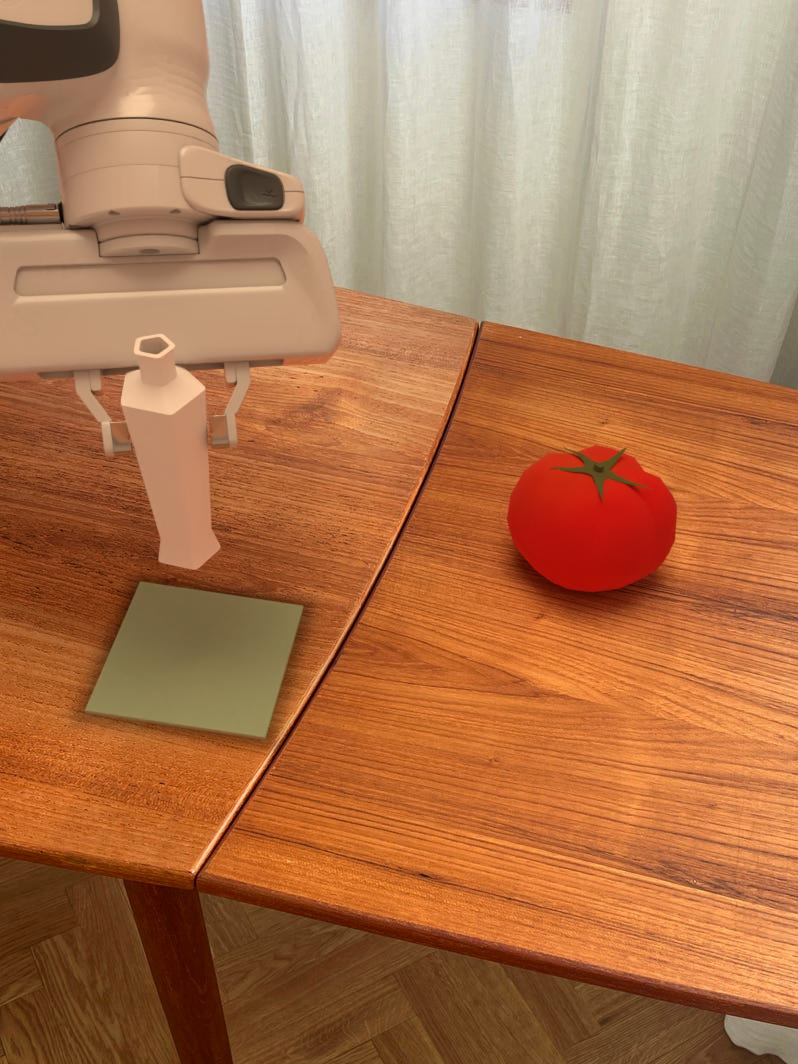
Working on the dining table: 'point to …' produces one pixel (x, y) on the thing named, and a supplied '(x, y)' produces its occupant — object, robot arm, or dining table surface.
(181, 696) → the front mat
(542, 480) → the tomato
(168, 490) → the perfume bottle
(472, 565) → the dining table surface
